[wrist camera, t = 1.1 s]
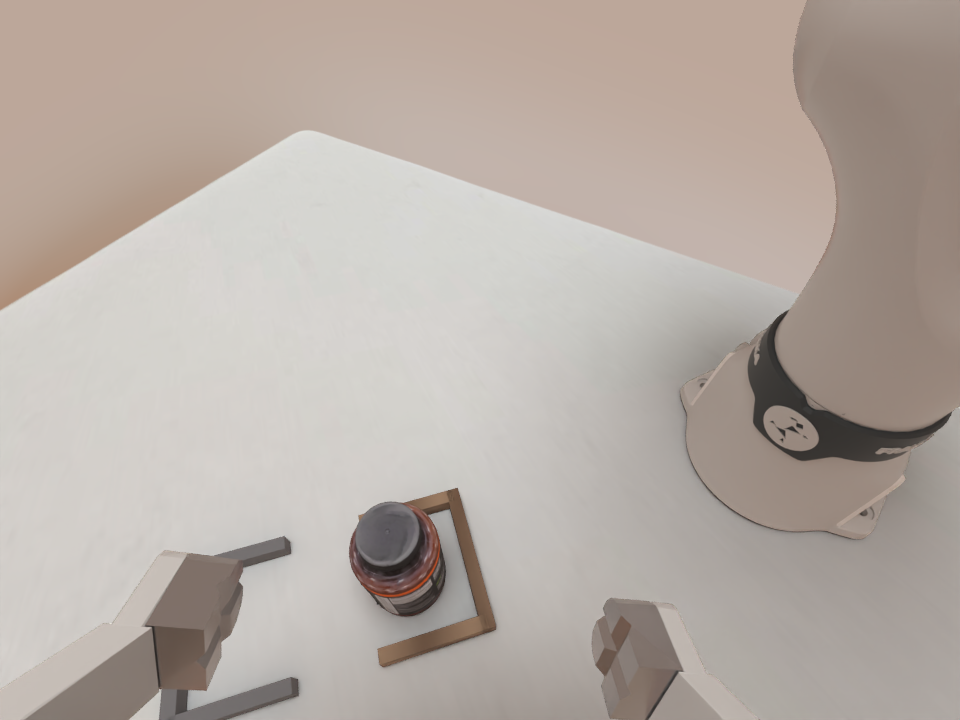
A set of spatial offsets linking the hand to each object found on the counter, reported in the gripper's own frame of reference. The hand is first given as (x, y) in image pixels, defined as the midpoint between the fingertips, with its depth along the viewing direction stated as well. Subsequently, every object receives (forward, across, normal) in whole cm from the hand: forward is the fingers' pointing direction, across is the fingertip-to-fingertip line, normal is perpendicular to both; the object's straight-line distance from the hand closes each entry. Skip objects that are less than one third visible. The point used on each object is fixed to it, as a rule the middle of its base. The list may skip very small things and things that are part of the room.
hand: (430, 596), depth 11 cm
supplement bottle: (+20, -2, +24) cm, 31 cm away
